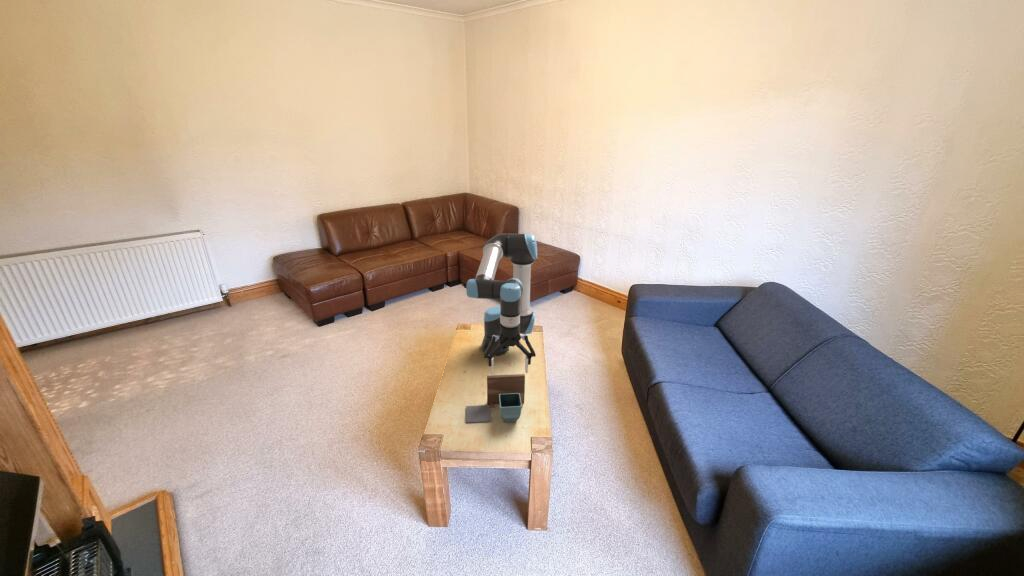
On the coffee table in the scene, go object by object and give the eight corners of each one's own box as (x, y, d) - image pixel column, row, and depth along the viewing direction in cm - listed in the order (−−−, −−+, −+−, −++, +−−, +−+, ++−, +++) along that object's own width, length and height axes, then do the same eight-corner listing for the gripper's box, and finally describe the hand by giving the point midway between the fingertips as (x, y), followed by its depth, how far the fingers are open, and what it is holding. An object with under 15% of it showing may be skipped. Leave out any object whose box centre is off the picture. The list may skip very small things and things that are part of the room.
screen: (487, 399, 174) (486, 372, 169) (523, 397, 176) (523, 371, 171) (487, 408, 169) (487, 380, 164) (524, 406, 170) (525, 379, 165)
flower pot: (498, 411, 167) (498, 393, 164) (519, 410, 168) (519, 392, 165) (499, 425, 159) (499, 407, 156) (521, 424, 160) (522, 406, 157)
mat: (466, 407, 169) (466, 406, 169) (489, 406, 170) (489, 404, 170) (466, 423, 160) (466, 422, 160) (490, 421, 161) (490, 420, 161)
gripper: (477, 329, 146) (478, 378, 153) (544, 327, 148) (541, 375, 155) (477, 320, 153) (478, 367, 160) (541, 318, 155) (539, 365, 162)
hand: (509, 372), depth 158 cm, fingers open, 13 cm apart
